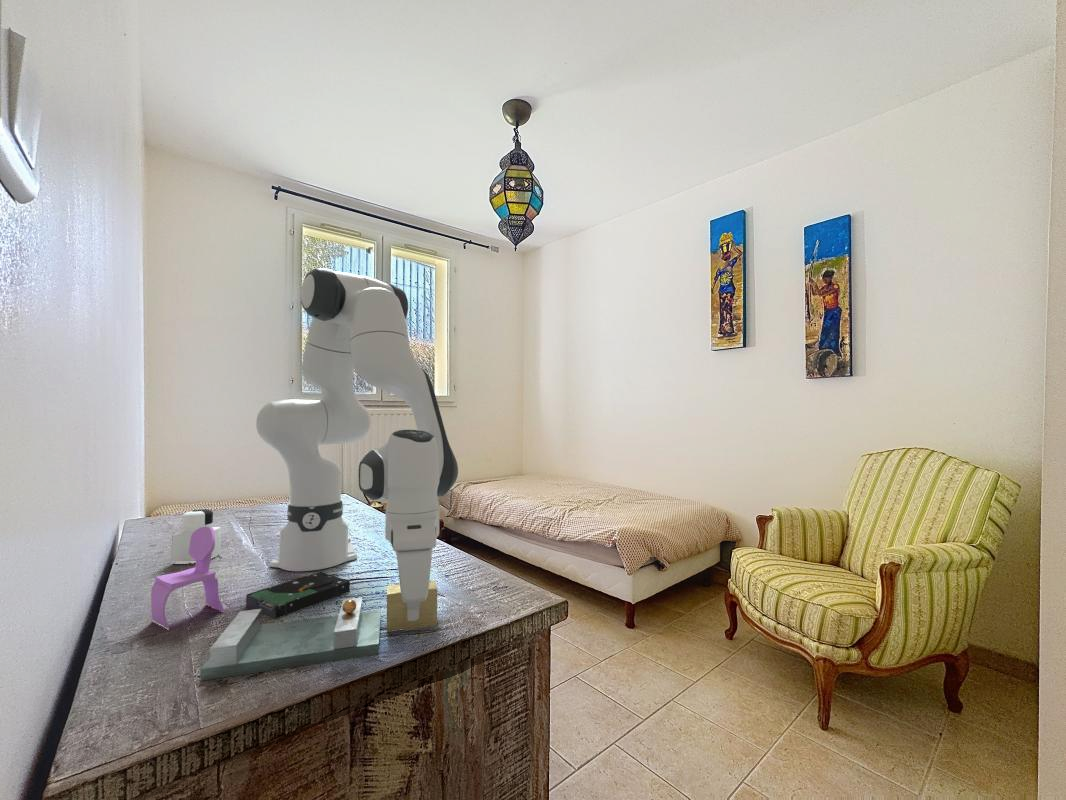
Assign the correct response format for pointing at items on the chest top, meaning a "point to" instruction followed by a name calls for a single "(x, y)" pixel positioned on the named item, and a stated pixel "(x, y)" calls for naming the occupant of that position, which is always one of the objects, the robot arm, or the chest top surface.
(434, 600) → the brass block
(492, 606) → the chest top surface
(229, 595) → the chest top surface
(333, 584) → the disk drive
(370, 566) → the chest top surface
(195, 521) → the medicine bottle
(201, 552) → the toy chair
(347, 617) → the sliding jaw
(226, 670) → the vise
